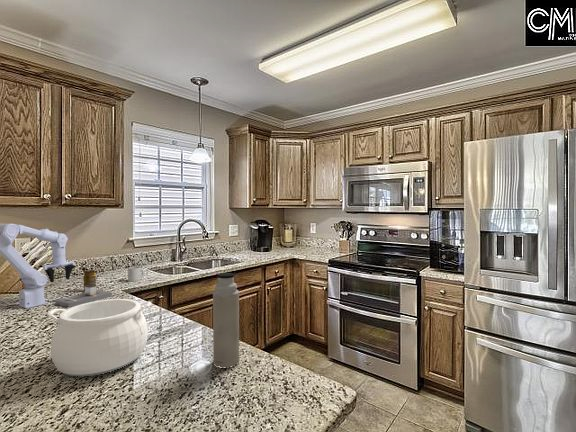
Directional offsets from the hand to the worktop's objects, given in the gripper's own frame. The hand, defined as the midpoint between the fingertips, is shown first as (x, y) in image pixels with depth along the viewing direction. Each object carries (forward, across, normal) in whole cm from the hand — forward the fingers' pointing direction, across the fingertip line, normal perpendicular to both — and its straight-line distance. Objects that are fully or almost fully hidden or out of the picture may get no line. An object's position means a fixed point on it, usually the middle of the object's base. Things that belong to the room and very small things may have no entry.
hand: (59, 280), depth 171 cm
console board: (+9, +4, -16) cm, 19 cm away
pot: (+9, -32, -89) cm, 95 cm away
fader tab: (+7, +7, -16) cm, 19 cm away
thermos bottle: (+9, -16, -125) cm, 126 cm away
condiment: (+10, +16, 0) cm, 18 cm away
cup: (+10, +46, -1) cm, 47 cm away
